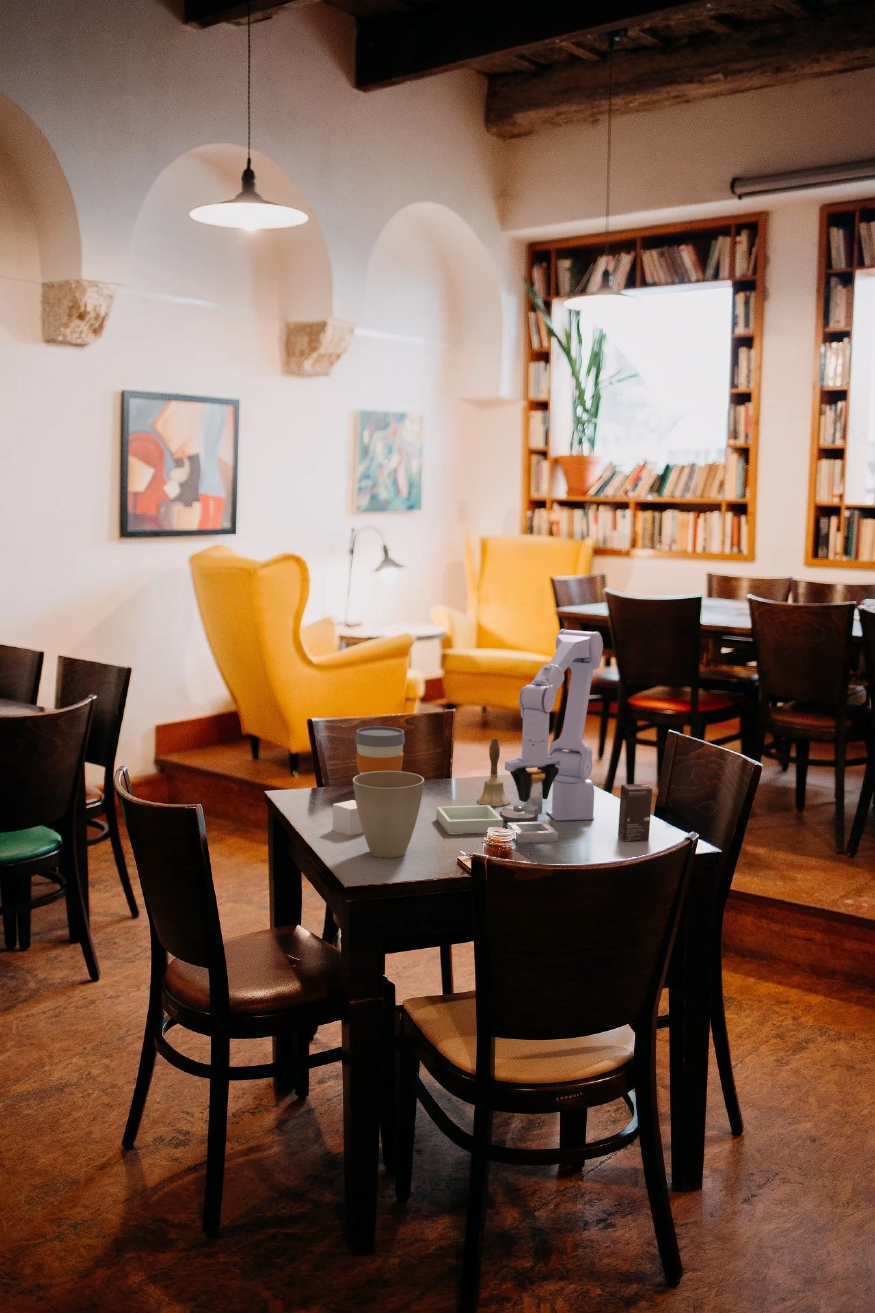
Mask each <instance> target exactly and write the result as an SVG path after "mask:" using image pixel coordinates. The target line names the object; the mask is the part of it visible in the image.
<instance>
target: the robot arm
mask: <svg viewBox="0 0 875 1313" xmlns="http://www.w3.org/2000/svg"><path fill="white" fill-rule="evenodd" d="M555 650H556V651H555V653H553V654H554V655H553V656H552V658H551V660H550V662H549V663H546V664H544V665H542V666H541V668H540V669H539V671H538V673H537V674H536V675H535V677H534V679H533V680H532V682H531V683H530V684H526V685H525V686H523V687H522V688H521V689H520V692H519V697H518V706H519V708H520V716H521V717H520V718H521V719H522V738H521V739H522V740H521V742H522V743H521V756H520V757H519V758H514V759H510V760H505V761H504V771H507V772H509V773H510V775H511V777H512V779H513V781H514V783H515V786H516V791H517V795H518V800H519V801H520V802H523V803H524V802H527V799H528V787H529V782H530V778H531V775H532V774H531V773H529V772H527V770H528V769H536V768H537V770H543V771H545V772H546V779H543V798H542V800H547V799H548V798H549V794H550V790H551V788H552V795H551V796H552V798H551V799H552V800H551V809H546V813H547V814H548V815H549V816H550V817H551V818H552V819H553V820H554V821H557V822H558V821H579V820H580V821H582V820H585V821H586V820H594V819H595V816H594V810H595V809H594V805H595V803H594V802H595V788H594V783H593V781H592V780H591V779H589V777H590V776H591V774H592V770H593V749H592V748H591V747H590V745H589V744H587V743H586V741H584V739H583V738H584V732H585V725H586V719H587V712H588V705H589V699H590V692H591V687H592V680H593V675H594V671H595V670H596V669H600V665H601V662H602V655H603V651H604V643H603V637H602V635H601V632H599V631H586V630H585V631H583V630H575V629H574V630H573V629H566V628H562V629H560V630H559V631H558V632H557V635H556V638H555ZM568 668H569V669H570V671H571V675H570V681H569V689H568V694H567V702H566V708H565V714H564V720H563V725H562V726H563V728H562V731H561V732H562V733H561V736H560V737H559V738H557V739H556V740H554V741H553V742H552V743H551V744H550V746H549V734H550V729H549V728H550V712H552V710H553V709H554V705H555V701H556V698H557V692H558V691H559V689H560V687H561V685H562V684H563V682H564V681H565V673H564V672H565V671H566V670H567V669H568Z"/></svg>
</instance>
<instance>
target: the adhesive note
mask: <svg viewBox="0 0 875 1313" xmlns="http://www.w3.org/2000/svg"><path fill="white" fill-rule="evenodd" d="M332 831H334V832H337V833H341V834H342V835H343V834H344V835H347V836H351V837H352V836H354V835H358V834H359V835H360V834H362V833H363V829H362V826H361V822H360V818H359V814H358V810H357V805H356V800H354V799H351V800H346V801H341V802H336V803H333V804H332ZM363 834H364V833H363Z"/></svg>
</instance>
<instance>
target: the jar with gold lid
mask: <svg viewBox="0 0 875 1313" xmlns="http://www.w3.org/2000/svg"><path fill="white" fill-rule="evenodd" d="M526 770H527V772H529V773H531V774H532V775H531V778H530V782H529V787H528V799H527V802H523V806H524V813H525V814H529V815H538V816H539V815H541V814H543V779H546V772H545V771H543V770H537V769H536V768H528V769H526Z"/></svg>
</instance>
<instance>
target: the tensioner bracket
mask: <svg viewBox="0 0 875 1313" xmlns="http://www.w3.org/2000/svg"><path fill="white" fill-rule="evenodd" d="M499 816H500V817H501V818H502V819H503V826H505V825H506V827H509V828H511V829H514V830H515V831H516V840H517V841H516V840H515V841H516V842H517V843H518V844H520V843H521V844H523V843H525V844H526V843H548V842H558V838H559V831H557V830H556V829H555V828H554V827H552V826H551V824H549V822H547V821H546V820H545V821H539V815H529V814H525V813H524V805H517V804H516V805H510V806H509V805H507V806H503V807H502V808H501V810H500V811H499Z"/></svg>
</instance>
